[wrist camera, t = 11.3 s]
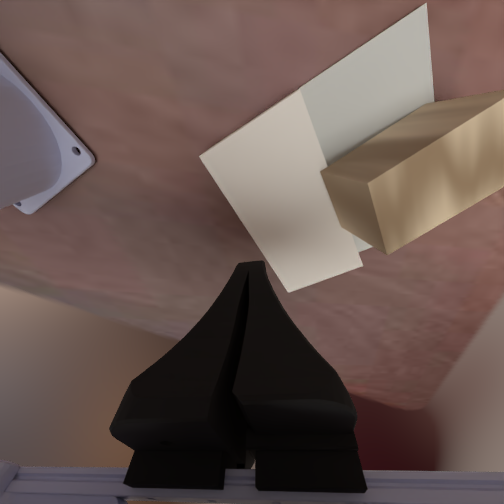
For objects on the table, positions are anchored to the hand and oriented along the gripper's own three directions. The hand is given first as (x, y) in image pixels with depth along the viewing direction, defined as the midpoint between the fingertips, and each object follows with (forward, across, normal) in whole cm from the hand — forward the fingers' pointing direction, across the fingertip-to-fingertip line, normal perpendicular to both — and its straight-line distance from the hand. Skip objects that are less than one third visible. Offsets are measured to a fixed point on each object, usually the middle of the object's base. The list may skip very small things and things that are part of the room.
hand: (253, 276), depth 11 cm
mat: (+6, -8, -3) cm, 11 cm away
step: (+6, -3, -1) cm, 7 cm away
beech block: (+2, -5, -2) cm, 6 cm away
